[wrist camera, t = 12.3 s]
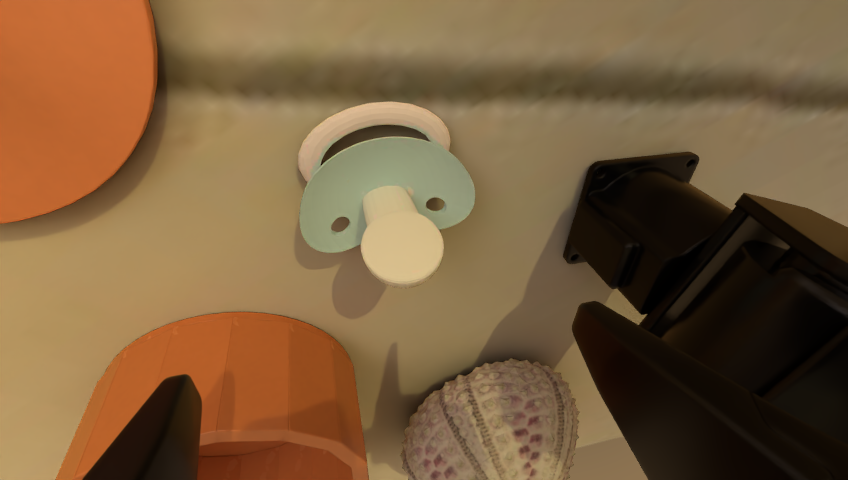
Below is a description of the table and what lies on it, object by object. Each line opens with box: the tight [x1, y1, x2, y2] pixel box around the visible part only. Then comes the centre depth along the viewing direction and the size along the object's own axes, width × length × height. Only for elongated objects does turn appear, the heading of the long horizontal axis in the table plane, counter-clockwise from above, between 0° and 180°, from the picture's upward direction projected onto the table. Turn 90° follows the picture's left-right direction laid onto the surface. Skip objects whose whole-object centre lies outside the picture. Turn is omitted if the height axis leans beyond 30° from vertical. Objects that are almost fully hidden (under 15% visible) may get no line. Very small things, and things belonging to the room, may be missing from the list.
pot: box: [55, 312, 369, 480], centre depth 22 cm, size 14×14×6 cm
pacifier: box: [298, 102, 475, 288], centre depth 15 cm, size 7×6×6 cm
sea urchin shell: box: [400, 358, 579, 480], centre depth 29 cm, size 13×14×8 cm
